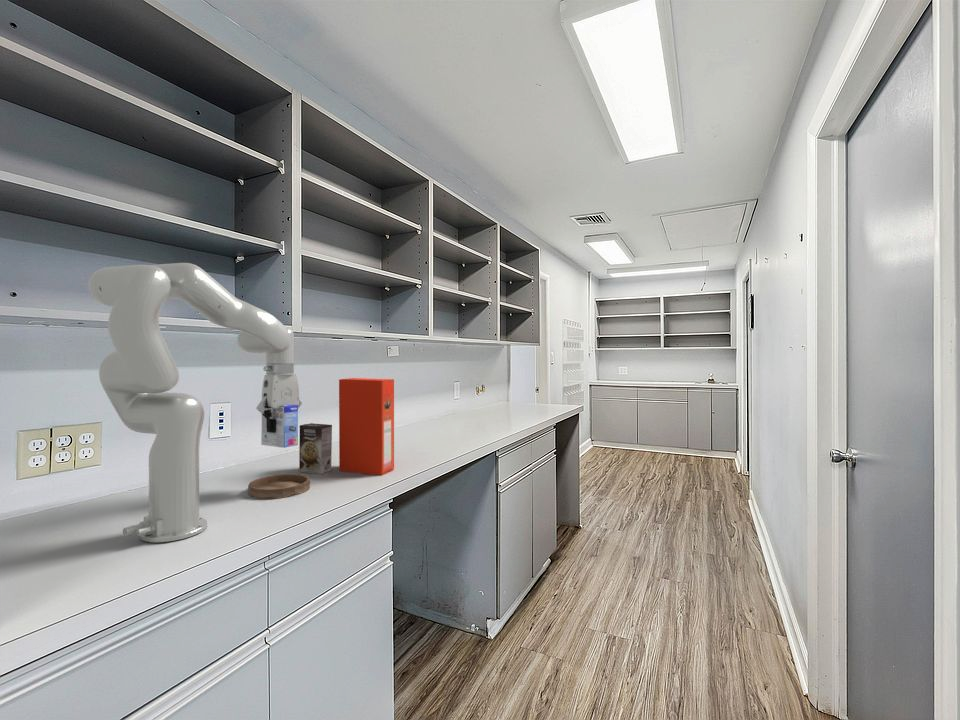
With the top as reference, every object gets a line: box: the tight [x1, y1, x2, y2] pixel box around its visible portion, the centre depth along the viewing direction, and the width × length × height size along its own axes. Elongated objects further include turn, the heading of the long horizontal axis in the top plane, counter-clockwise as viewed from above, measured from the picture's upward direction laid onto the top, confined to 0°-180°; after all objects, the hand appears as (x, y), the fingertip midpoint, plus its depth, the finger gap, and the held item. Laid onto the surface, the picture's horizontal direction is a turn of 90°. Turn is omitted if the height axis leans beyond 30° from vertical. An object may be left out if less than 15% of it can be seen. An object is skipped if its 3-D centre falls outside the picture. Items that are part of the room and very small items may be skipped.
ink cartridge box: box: [260, 404, 299, 449], centre depth 135 cm, size 10×6×14 cm, turn 64°
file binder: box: [338, 377, 395, 476], centre depth 158 cm, size 8×17×32 cm, turn 70°
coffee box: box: [298, 422, 333, 475], centre depth 157 cm, size 9×6×16 cm
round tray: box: [247, 473, 311, 500], centre depth 135 cm, size 17×17×3 cm
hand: (280, 430), depth 135 cm, fingers closed on ink cartridge box, 5 cm apart
